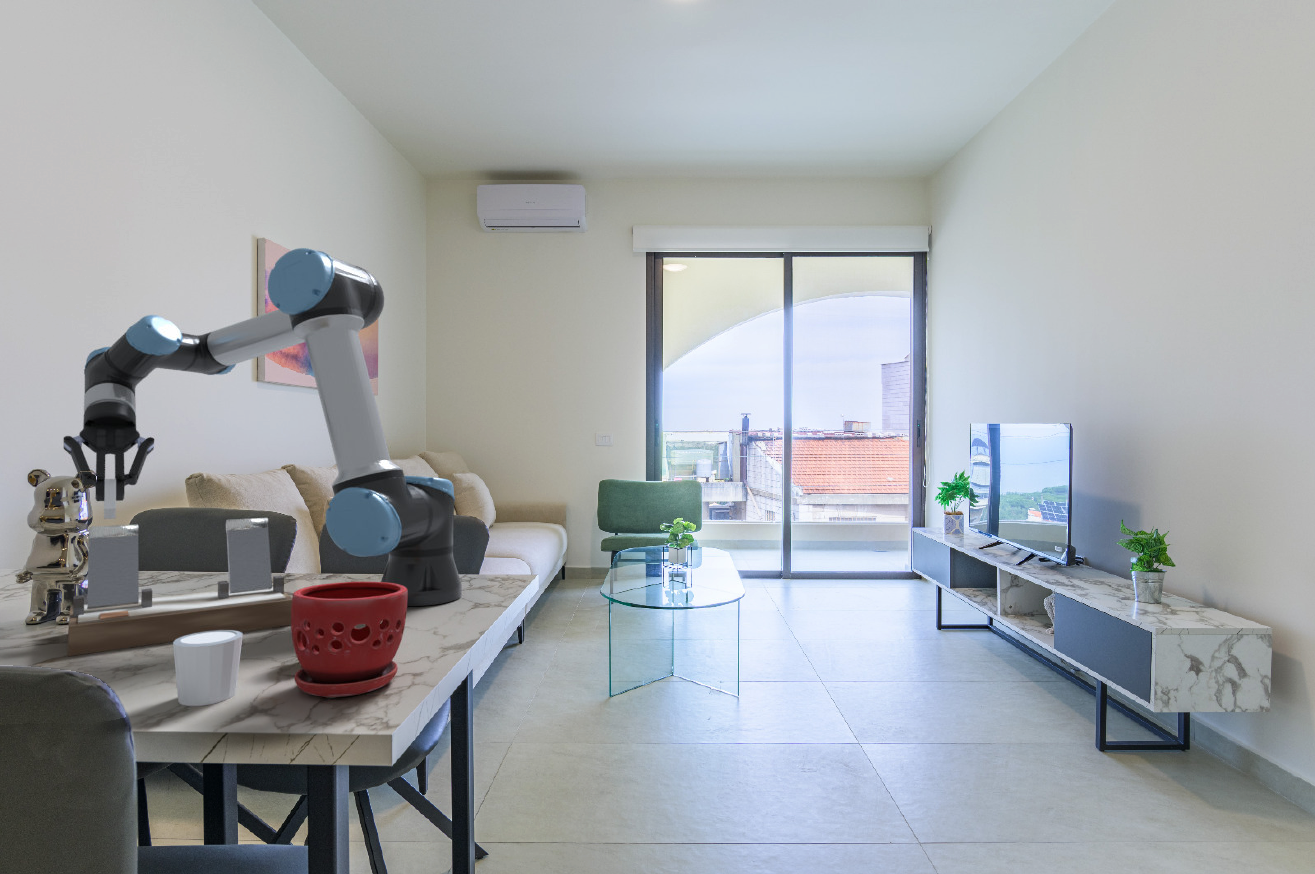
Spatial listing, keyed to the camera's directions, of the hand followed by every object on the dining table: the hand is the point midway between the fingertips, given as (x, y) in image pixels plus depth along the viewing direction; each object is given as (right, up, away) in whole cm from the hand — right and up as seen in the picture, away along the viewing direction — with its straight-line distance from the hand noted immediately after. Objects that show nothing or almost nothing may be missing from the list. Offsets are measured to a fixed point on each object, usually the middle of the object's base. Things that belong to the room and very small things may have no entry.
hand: (110, 513), depth 114 cm
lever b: (+9, -13, -11) cm, 19 cm away
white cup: (+38, -18, -33) cm, 53 cm away
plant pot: (+52, -18, -28) cm, 62 cm away
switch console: (+16, -18, -5) cm, 24 cm away
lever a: (+23, -13, +1) cm, 27 cm away
